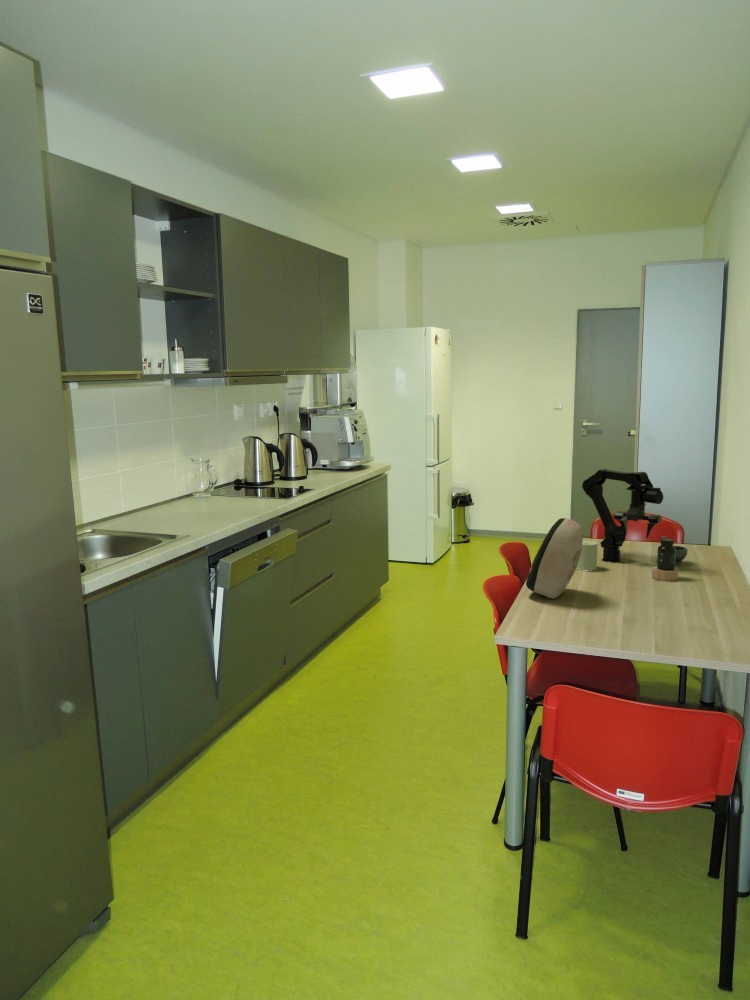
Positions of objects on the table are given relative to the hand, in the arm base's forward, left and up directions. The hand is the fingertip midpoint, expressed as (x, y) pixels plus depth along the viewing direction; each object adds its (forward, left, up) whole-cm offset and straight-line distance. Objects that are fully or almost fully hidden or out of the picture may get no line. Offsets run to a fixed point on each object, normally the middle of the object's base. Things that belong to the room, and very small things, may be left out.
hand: (636, 536), depth 312 cm
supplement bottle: (+16, -13, -9) cm, 22 cm away
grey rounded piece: (-12, -59, -13) cm, 62 cm away
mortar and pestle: (+12, +14, -13) cm, 23 cm away
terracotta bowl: (+16, -13, -13) cm, 24 cm away
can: (-16, -16, -13) cm, 26 cm away
